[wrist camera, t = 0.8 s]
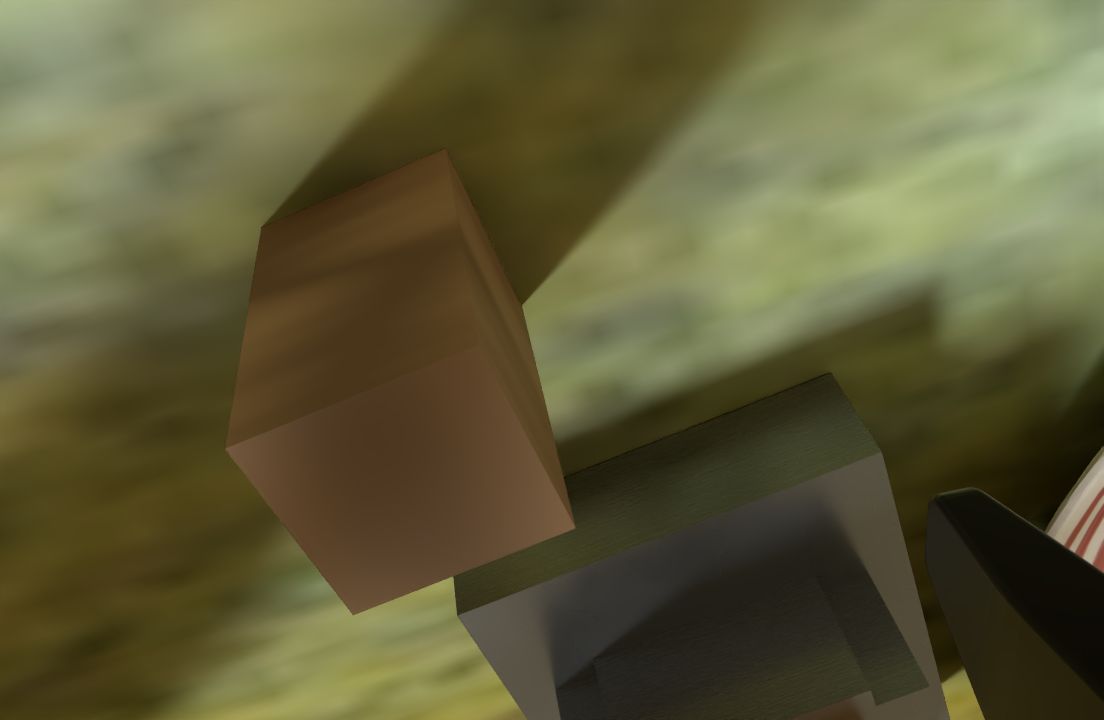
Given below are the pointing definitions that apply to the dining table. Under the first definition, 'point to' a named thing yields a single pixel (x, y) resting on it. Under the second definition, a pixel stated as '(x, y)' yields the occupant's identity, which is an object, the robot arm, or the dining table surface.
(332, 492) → the brown wooden block
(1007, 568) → the robot arm
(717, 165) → the dining table surface
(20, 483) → the dining table surface
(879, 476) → the box
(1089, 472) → the dinner plate
